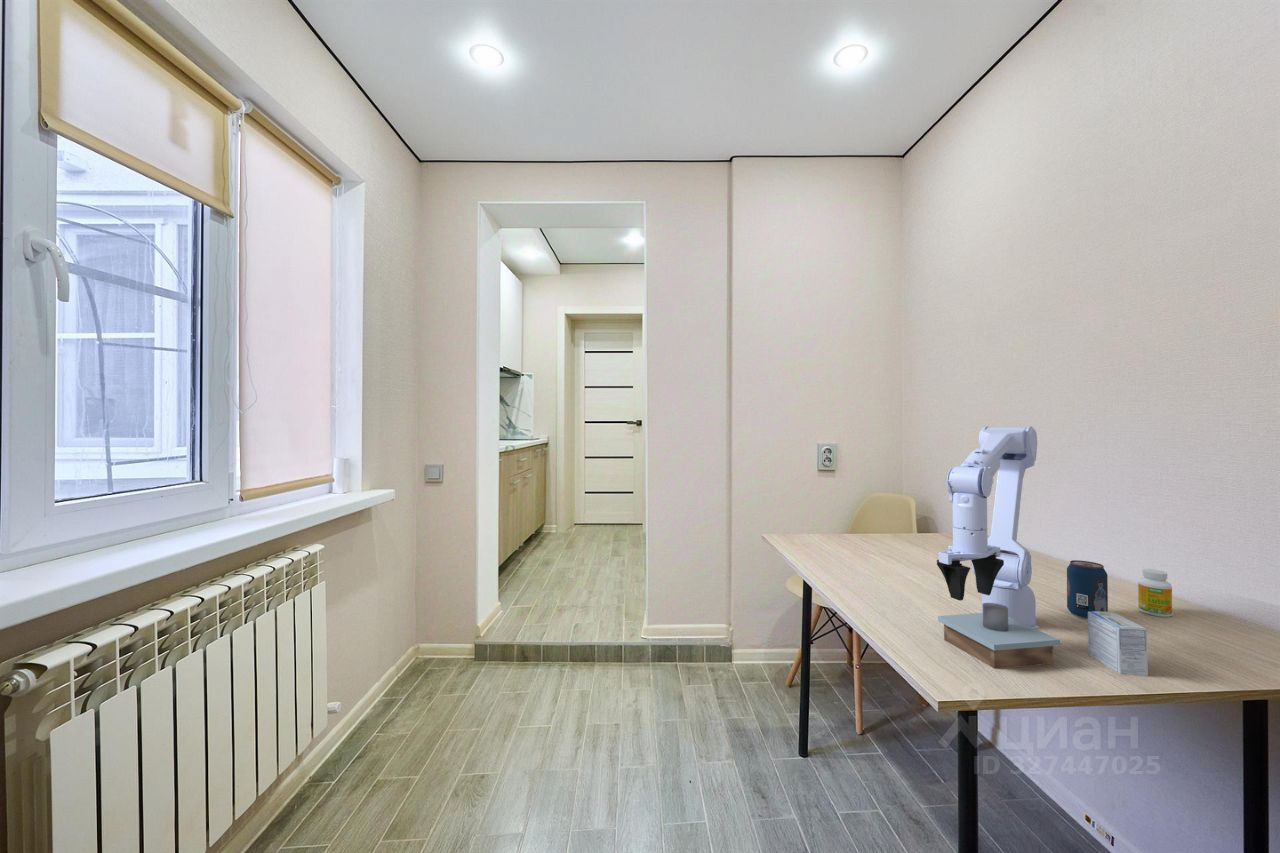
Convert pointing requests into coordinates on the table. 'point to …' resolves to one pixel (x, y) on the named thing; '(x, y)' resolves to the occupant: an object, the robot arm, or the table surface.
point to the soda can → (1086, 588)
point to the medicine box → (1118, 643)
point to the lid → (998, 629)
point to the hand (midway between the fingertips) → (970, 596)
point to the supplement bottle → (1155, 593)
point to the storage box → (999, 652)
